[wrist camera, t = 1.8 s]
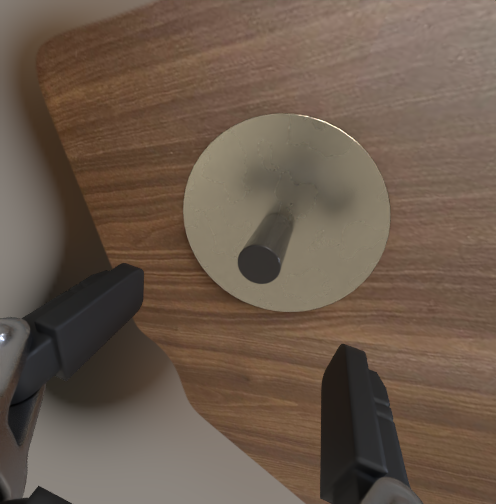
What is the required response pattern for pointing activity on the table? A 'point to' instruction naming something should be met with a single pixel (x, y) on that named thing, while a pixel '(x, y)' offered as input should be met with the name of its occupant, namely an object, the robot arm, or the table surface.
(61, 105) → the table surface
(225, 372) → the table surface
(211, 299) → the table surface
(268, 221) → the lid
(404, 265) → the table surface
